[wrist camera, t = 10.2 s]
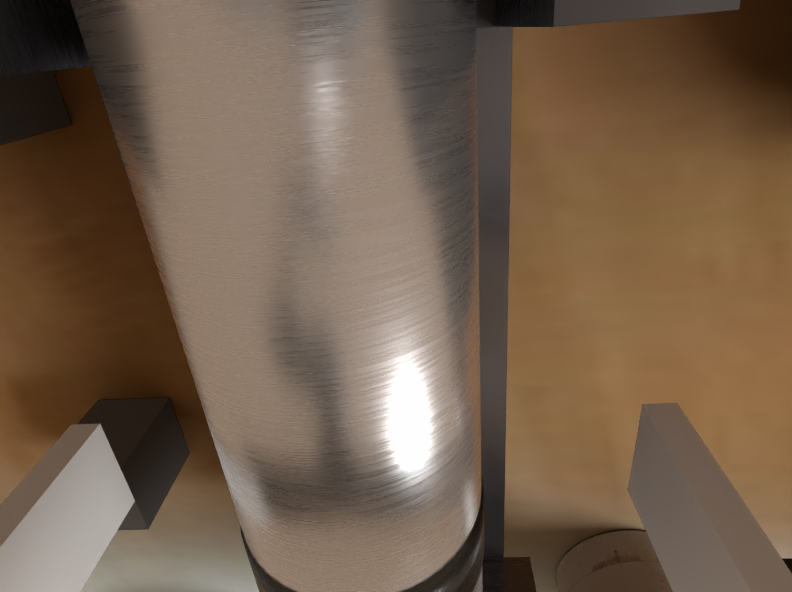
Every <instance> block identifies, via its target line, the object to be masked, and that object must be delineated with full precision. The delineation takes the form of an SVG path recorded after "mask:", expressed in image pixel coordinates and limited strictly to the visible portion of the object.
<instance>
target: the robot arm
mask: <svg viewBox="0 0 792 592" xmlns="http://www.w3.org/2000/svg"><path fill="white" fill-rule="evenodd" d="M628 491H629V493H630V496H631V498H632V500H633V502H634V505H635V507H636V509H637V512H638V514H639V516H640V518H641V521H642V523H643V525H644V527H645V530H646V532H647V534H648V536H649V539H650V541H651V543H652V546H653V548H654V550H655V552H656V555H657V557H658V559H659V561H660V564H661V566H662V568H663V570H664V573H665V575H666V577H667V579H668V582H669V584H670V586H671V589H672V591H673V592H792V559H782V558H781V557H780V555H779V554H778V552H777V551H776V549H775V548H774V546H773V545H772V543H771V542H770V540H769V539H768V537H767V536H766V534H765V533H764V531H763V530H762V528H761V527H760V525H759V524H758V522H757V521H756V520H755V518H754V517H753V515H752V514H751V512H750V511H749V509H748V508H747V506H746V505H745V503H744V502H743V500H742V499H741V497H740V496H739V494H738V493H737V491H736V490H735V488H734V487H733V485H732V484H731V482H730V481H729V479H728V478H727V476H726V475H725V473H724V472H723V471H722V469H721V468H720V466H719V465H718V463H717V462H716V460H715V459H714V457H713V456H712V454H711V453H710V451H709V450H708V448H707V447H706V445H705V444H704V442H703V441H702V439H701V438H700V436H699V435H698V433H697V432H696V430H695V429H694V427H693V426H692V424H691V423H690V421H689V420H688V419H687V417H686V416H685V414H684V413H683V411H682V410H681V408H680V407H679V405H678V404H677V403H663V404H642V410H641V416H640V421H639V427H638V433H637V439H636V445H635V451H634V456H633V462H632V468H631V474H630V480H629V485H628ZM134 502H135V500H134V498H133V495H132V493H131V491H130V489H129V486H128V484H127V482H126V480H125V478H124V475H123V473H122V471H121V469H120V467H119V464H118V462H117V460H116V458H115V455H114V453H113V451H112V449H111V447H110V444H109V442H108V440H107V438H106V435H105V433H104V431H103V429H102V427H101V424H73V425H70V426H69V428H68V429H67V430H66V431H65V432H64V433H63V434H62V436H61V437H60V438H59V439H58V440H57V441H56V442H55V444H54V445H53V446H52V447H51V448H50V449H49V450H48V451H47V453H46V454H45V455H44V456H43V457H42V458H41V459H40V461H39V462H38V463H37V464H36V465H35V466H34V467H33V469H32V470H31V471H30V472H29V473H28V474H27V475H26V477H25V478H24V479H23V480H22V481H21V482H20V483H19V485H18V486H17V487H16V488H15V489H14V490H13V491H12V492H11V494H10V495H9V496H8V497H7V498H6V499H5V500H4V502H3V503H2V504H1V505H0V592H80V591H81V590H82V588H83V586H84V585H85V583H86V581H87V580H88V578H89V576H90V575H91V573H92V571H93V570H94V568H95V566H96V565H97V563H98V561H99V560H100V558H101V556H102V555H103V553H104V551H105V550H106V548H107V546H108V545H109V543H110V541H111V540H112V538H113V537H114V535H115V533H116V532H117V530H118V528H119V527H120V525H121V523H122V522H123V520H124V518H125V517H126V515H127V513H128V512H129V510H130V508H131V507H132V505H133V503H134Z"/></svg>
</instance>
